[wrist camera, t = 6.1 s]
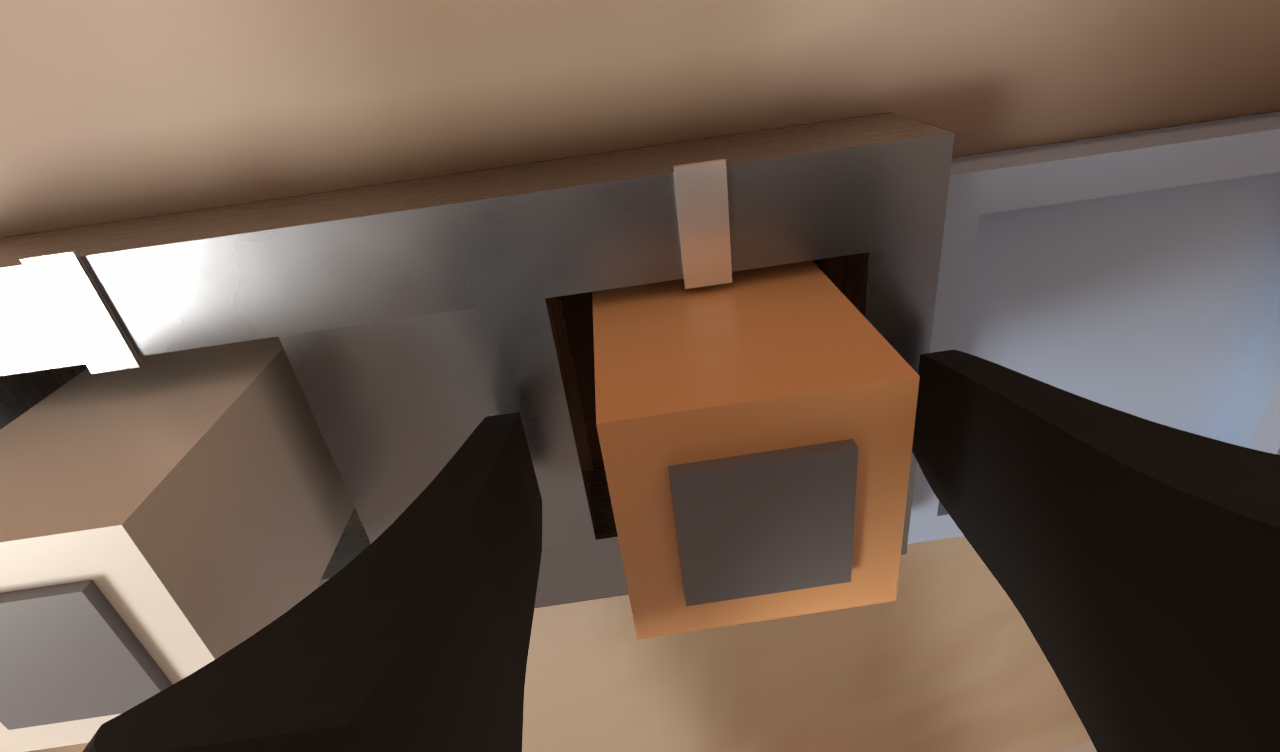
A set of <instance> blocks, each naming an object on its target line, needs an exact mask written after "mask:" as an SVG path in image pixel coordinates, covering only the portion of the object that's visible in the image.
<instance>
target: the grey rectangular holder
mask: <svg viewBox="0 0 1280 752" xmlns="http://www.w3.org/2000/svg"><path fill="white" fill-rule="evenodd" d="M954 138H955V132H952V131H948V130H945V129H942V128H939V127H936V126H932V125H929V124H926V123H923V122H919V121H916V120H913V119H910V118H907V117H903V116H900V115H897V114H894V113H884V114H877V115H870V116H863V117H855V118H848V119H841V120H834V121H827V122H820V123H813V124H806V125H799V126H792V127H785V128H778V129H771V130H764V131H756V132H749V133H742V134H735V135H728V136H721V137H714V138H707V139H700V140H693V141H686V142H679V143H672V144H665V145H658V146H650V147H643V148H636V149H629V150H622V151H615V152H608V153H601V154H594V155H587V156H580V157H573V158H566V159H559V160H551V161H544V162H537V163H530V164H523V165H516V166H509V167H502V168H495V169H488V170H481V171H474V172H467V173H460V174H453V175H445V176H438V177H431V178H424V179H417V180H410V181H403V182H396V183H389V184H382V185H375V186H368V187H361V188H354V189H346V190H339V191H332V192H325V193H318V194H311V195H304V196H297V197H290V198H283V199H276V200H269V201H262V202H255V203H248V204H240V205H233V206H226V207H219V208H212V209H205V210H198V211H191V212H184V213H177V214H170V215H163V216H156V217H149V218H141V219H134V220H127V221H120V222H113V223H106V224H99V225H92V226H85V227H78V228H71V229H64V230H57V231H50V232H43V233H35V234H28V235H21V236H14V237H7V238H0V430H1V429H2V428H3V427H5V426H6V425H8V424H9V423H11V422H12V421H13V420H15V419H16V418H18V417H19V416H20V415H22V414H23V413H25V412H26V411H28V410H29V409H30V408H32V407H33V406H35V405H36V404H37V403H39V402H40V401H42V400H43V399H45V398H46V397H47V396H49V395H50V394H52V393H53V392H54V391H56V390H57V389H59V388H60V387H62V386H63V385H64V384H66V383H67V382H69V381H70V380H71V379H73V378H74V377H76V376H77V375H79V374H80V373H81V372H83V371H84V370H83V368H82V366H81V365H82V364H86V366H87V367H88V369H89V370H90V372H91V374H95V373H102V372H109V371H116V370H123V369H130V368H137V367H140V366H141V365H143V363H142V362H141V360H140V358H139V356H145V355H152V354H159V353H166V352H173V351H180V350H187V349H194V348H201V347H208V346H215V345H222V344H229V343H236V342H243V341H250V340H257V339H264V338H271V337H279V339H280V342H281V344H282V346H283V348H284V350H285V353H286V355H287V357H288V359H289V362H290V364H291V366H292V368H293V371H294V373H295V375H296V377H297V380H298V382H299V384H300V386H301V388H302V391H303V393H304V395H305V397H306V400H307V402H308V404H309V406H310V409H311V411H312V413H313V415H314V418H315V420H316V422H317V424H318V426H319V429H320V431H321V433H322V435H323V438H324V440H325V442H326V444H327V447H328V449H329V451H330V453H331V456H332V458H333V460H334V462H335V464H336V467H337V469H338V471H339V473H340V476H341V478H342V480H343V482H344V485H345V487H346V489H347V491H348V493H349V496H350V498H351V500H352V502H353V505H354V507H355V508H354V510H353V512H352V514H351V516H350V518H349V520H348V523H347V525H346V527H345V529H344V531H343V533H342V535H341V538H340V540H339V542H338V544H337V546H336V548H335V550H334V552H333V555H332V557H331V559H330V561H329V563H328V565H327V567H326V569H325V572H324V574H323V576H322V578H321V580H320V582H319V584H318V587H320V586H321V585H322V584H324V583H325V582H326V581H328V580H329V579H330V578H331V577H333V576H334V575H335V574H337V573H338V572H339V571H340V570H341V569H343V568H344V567H345V566H346V565H347V564H349V563H350V562H351V561H352V560H353V559H354V558H355V557H357V556H358V555H359V554H360V553H361V552H362V551H363V550H365V549H366V548H367V547H368V546H369V545H370V544H371V543H372V542H373V541H375V540H376V539H377V538H378V537H379V536H380V535H381V534H382V533H383V532H384V531H385V530H386V529H387V528H388V527H389V526H390V525H391V524H392V523H393V522H394V521H395V520H396V519H397V518H398V517H399V516H400V515H401V514H402V513H403V512H404V511H405V510H406V509H407V508H408V506H409V505H410V504H411V503H412V502H413V501H414V500H415V499H416V498H417V497H418V496H419V495H420V494H421V493H422V492H423V491H424V490H425V488H426V487H427V486H428V485H429V484H430V483H431V482H432V481H433V480H434V478H435V477H436V476H437V475H438V474H439V472H440V471H441V470H442V469H443V468H444V467H445V465H446V464H447V463H448V462H449V461H450V459H451V458H452V457H453V456H454V455H455V453H456V452H457V451H458V450H459V448H460V447H461V446H462V445H463V444H464V442H465V441H466V440H467V439H468V437H469V436H470V435H471V434H472V432H473V431H474V430H475V429H476V428H477V426H478V425H479V424H480V423H481V422H482V420H483V419H484V418H485V417H488V416H495V415H502V414H508V413H515V412H520V416H521V420H522V423H523V427H524V431H525V435H526V439H527V443H528V447H529V451H530V455H531V459H532V463H533V466H534V470H535V474H536V478H537V482H538V486H539V490H540V494H541V498H542V554H541V562H540V569H539V577H538V584H537V592H536V599H535V606H534V608H539V607H546V606H553V605H560V604H566V603H573V602H580V601H587V600H594V599H601V598H608V597H614V596H621V595H628V594H629V592H628V587H627V582H626V577H625V571H624V566H623V561H622V556H621V551H620V545H619V540H618V535H617V530H616V525H615V519H614V514H613V509H612V504H611V498H610V493H609V488H608V483H607V478H606V472H605V468H602V469H595V470H594V466H593V461H592V456H591V451H590V446H589V441H588V435H587V430H586V425H585V420H584V415H583V410H582V405H581V400H580V395H579V390H578V385H577V380H576V375H575V370H574V365H573V360H572V354H571V349H570V344H569V339H568V334H567V329H566V324H565V319H564V314H563V309H562V304H561V299H560V296H565V295H572V294H580V293H587V292H594V291H601V290H608V289H615V288H622V287H629V286H636V285H643V284H650V283H657V282H664V281H671V280H678V279H684V287H685V289H690V288H697V287H704V286H711V285H718V284H725V283H732V272H734V271H741V270H748V269H755V268H762V267H769V266H776V265H783V264H790V263H797V262H804V261H811V260H818V259H822V272H823V273H824V274H825V275H826V276H827V277H828V278H829V279H830V280H831V281H832V283H833V284H834V285H835V286H836V287H837V288H838V289H839V290H840V291H841V292H842V293H843V294H844V295H845V296H846V298H847V299H848V300H849V301H850V302H851V303H852V304H853V305H854V306H855V307H856V308H857V309H858V310H859V311H860V313H861V314H862V315H863V316H864V317H865V318H866V319H867V320H868V321H869V322H870V323H871V324H872V325H873V326H874V328H875V329H876V330H877V331H878V332H879V333H880V334H881V335H882V336H883V337H884V338H885V339H886V340H887V342H888V343H889V344H890V345H891V346H892V347H893V348H894V349H895V350H896V351H897V352H898V353H899V354H900V355H901V357H902V358H903V359H904V360H905V361H906V362H907V363H908V364H909V365H910V366H911V367H912V368H913V369H914V370H915V372H916V373H917V374H918V370H919V361H920V354H926V353H930V345H931V336H932V327H933V319H934V310H935V301H936V293H937V284H938V276H939V267H940V258H941V250H942V241H943V232H944V224H945V215H946V207H947V198H948V189H949V181H950V172H951V163H952V155H953V146H954ZM916 465H917V460H916V458H915V456H914V454H913V452H912V454H911V463H910V473H909V482H908V492H907V501H906V510H905V520H904V529H903V539H902V548H901V555H903V554H906V552H907V543H908V534H909V526H910V517H911V508H912V500H913V491H914V483H915V474H916ZM318 587H317V588H318Z"/></svg>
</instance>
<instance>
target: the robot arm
mask: <svg viewBox="0 0 1280 752" xmlns="http://www.w3.org/2000/svg"><path fill="white" fill-rule="evenodd" d="M918 375H919V376H920V379H919V388H918V398H917V407H916V416H915V426H914V435H913V445H912V452H913V454H914V456H915V458H916V460H917V462H918V464H919V466H920V468H921V470H922V472H923V474H924V476H925V478H926V480H927V481H928V483H929V485H930V487H931V489H932V491H933V492H934V494H935V495H936V497H937V498H938V500H939V501H940V503H941V504H942V505H943V507H944V508H945V510H946V511H947V512H948V514H949V515H950V517H951V518H952V519H953V521H954V522H955V524H956V525H957V526H958V528H959V529H960V530H961V532H962V533H963V535H964V536H965V537H966V539H967V540H968V541H969V543H970V544H971V545H972V547H973V548H974V549H975V551H976V552H977V554H978V555H979V556H980V558H981V559H982V560H983V562H984V563H985V564H986V566H987V567H988V569H989V570H990V571H991V573H992V574H993V575H994V577H995V578H996V579H997V581H998V582H999V584H1000V585H1001V586H1002V588H1003V589H1004V590H1005V592H1006V593H1007V595H1008V596H1009V598H1010V599H1011V600H1012V602H1013V603H1014V605H1015V606H1016V608H1017V609H1018V611H1019V612H1020V614H1021V615H1022V617H1023V619H1024V620H1025V622H1026V624H1027V625H1028V627H1029V629H1030V631H1031V632H1032V634H1033V636H1034V637H1035V639H1036V641H1037V643H1038V644H1039V646H1040V648H1041V649H1042V651H1043V653H1044V655H1045V656H1046V658H1047V660H1048V661H1049V663H1050V665H1051V667H1052V668H1053V670H1054V672H1055V674H1056V675H1057V677H1058V679H1059V681H1060V683H1061V685H1062V686H1063V688H1064V690H1065V692H1066V694H1067V696H1068V697H1069V699H1070V701H1071V703H1072V705H1073V707H1074V708H1075V710H1076V712H1077V714H1078V716H1079V718H1080V719H1081V721H1082V723H1083V725H1084V727H1085V729H1086V731H1087V733H1088V734H1089V736H1090V738H1091V740H1092V742H1093V744H1094V746H1095V748H1096V750H1097V752H1280V455H1277V454H1272V453H1267V452H1263V451H1259V450H1254V449H1250V448H1246V447H1242V446H1238V445H1234V444H1230V443H1226V442H1222V441H1219V440H1215V439H1212V438H1208V437H1204V436H1201V435H1197V434H1194V433H1190V432H1186V431H1183V430H1179V429H1176V428H1172V427H1169V426H1166V425H1162V424H1159V423H1156V422H1153V421H1149V420H1146V419H1143V418H1140V417H1137V416H1134V415H1132V414H1129V413H1126V412H1123V411H1120V410H1117V409H1114V408H1111V407H1108V406H1105V405H1102V404H1100V403H1097V402H1094V401H1091V400H1089V399H1086V398H1083V397H1080V396H1078V395H1075V394H1073V393H1070V392H1067V391H1065V390H1062V389H1060V388H1057V387H1054V386H1052V385H1049V384H1047V383H1044V382H1042V381H1039V380H1037V379H1034V378H1031V377H1029V376H1026V375H1024V374H1021V373H1019V372H1016V371H1014V370H1011V369H1009V368H1006V367H1004V366H1001V365H999V364H996V363H993V362H991V361H988V360H985V359H983V358H980V357H977V356H974V355H971V354H968V353H965V352H962V351H958V350H947V351H940V352H933V353H926V354H920V361H919V370H918ZM541 554H542V498H541V494H540V490H539V486H538V482H537V478H536V474H535V470H534V466H533V463H532V459H531V455H530V451H529V447H528V443H527V439H526V435H525V431H524V427H523V423H522V420H521V416H520V412H515V413H508V414H502V415H495V416H488V417H485V418H484V419H483V420H482V422H481V423H480V424H479V425H478V426H477V428H476V429H475V430H474V431H473V432H472V434H471V435H470V436H469V437H468V439H467V440H466V441H465V442H464V444H463V445H462V446H461V447H460V448H459V450H458V451H457V452H456V453H455V455H454V456H453V457H452V458H451V459H450V461H449V462H448V463H447V464H446V465H445V467H444V468H443V469H442V470H441V471H440V472H439V474H438V475H437V476H436V477H435V478H434V480H433V481H432V482H431V483H430V484H429V485H428V486H427V487H426V488H425V490H424V491H423V492H422V493H421V494H420V495H419V496H418V497H417V498H416V499H415V500H414V501H413V502H412V503H411V504H410V505H409V506H408V508H407V509H406V510H405V511H404V512H403V513H402V514H401V515H400V516H399V517H398V518H397V519H396V520H395V521H394V522H393V523H392V524H391V525H390V526H389V527H388V528H387V529H386V530H385V531H384V532H383V533H382V534H381V535H380V536H379V537H378V538H377V539H376V540H375V541H373V542H372V543H371V544H370V545H369V546H368V547H367V548H366V549H365V550H363V551H362V552H361V553H360V554H359V555H358V556H357V557H355V558H354V559H353V560H352V561H351V562H350V563H349V564H347V565H346V566H345V567H344V568H343V569H341V570H340V571H339V572H338V573H337V574H335V575H334V576H333V577H331V578H330V579H329V580H328V581H326V582H325V583H324V584H322V585H321V586H320V587H318V588H317V589H316V590H314V591H313V592H312V593H311V594H309V595H308V596H307V597H305V598H304V599H303V600H301V601H300V602H299V603H297V604H296V605H295V606H294V607H292V608H291V609H290V610H288V611H287V612H286V613H284V614H283V615H281V616H280V617H279V618H277V619H276V620H274V621H273V622H271V623H270V624H268V625H267V626H265V627H264V628H263V629H261V630H260V631H258V632H257V633H255V634H254V635H252V636H251V637H249V638H248V639H246V640H245V641H243V642H242V643H240V644H239V645H237V646H235V647H234V648H232V649H231V650H229V651H228V652H226V653H225V654H223V655H221V656H220V657H218V658H217V659H215V660H214V661H212V662H210V663H209V664H207V665H205V666H204V667H202V668H200V669H199V670H197V671H196V672H194V673H192V674H191V675H189V676H187V677H185V678H184V679H182V680H180V681H178V682H177V683H175V684H173V685H171V686H170V687H168V688H166V689H164V690H163V691H161V692H159V693H157V694H156V695H154V696H152V697H150V698H148V699H147V700H145V701H143V702H141V703H140V704H138V705H136V706H134V707H133V708H131V709H129V710H127V711H126V712H124V713H122V714H120V715H118V716H117V717H115V718H113V719H111V720H109V721H107V722H105V723H104V724H102V725H101V726H100V727H99V729H98V730H97V732H96V733H95V735H94V736H93V737H92V739H91V740H90V742H89V743H88V745H87V746H86V748H85V749H84V751H83V752H522V728H523V701H524V684H525V673H526V663H527V656H528V649H529V642H530V635H531V627H532V620H533V613H534V606H535V599H536V592H537V584H538V577H539V569H540V562H541Z"/></svg>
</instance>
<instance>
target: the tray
mask: <svg viewBox="0 0 1280 752" xmlns="http://www.w3.org/2000/svg"><path fill="white" fill-rule="evenodd" d="M947 350H958V351H962V352H965V353H968V354H971V355H974V356H977V357H980V358H983V359H985V360H988V361H991V362H993V363H996V364H999V365H1001V366H1004V367H1006V368H1009V369H1011V370H1014V371H1016V372H1019V373H1021V374H1024V375H1026V376H1029V377H1031V378H1034V379H1037V380H1039V381H1042V382H1044V383H1047V384H1049V385H1052V386H1054V387H1057V388H1060V389H1062V390H1065V391H1067V392H1070V393H1073V394H1075V395H1078V396H1080V397H1083V398H1086V399H1089V400H1091V401H1094V402H1097V403H1100V404H1102V405H1105V406H1108V407H1111V408H1114V409H1117V410H1120V411H1123V412H1126V413H1129V414H1132V415H1134V416H1137V417H1140V418H1143V419H1146V420H1149V421H1153V422H1156V423H1159V424H1162V425H1166V426H1169V427H1172V428H1176V429H1179V430H1183V431H1186V432H1190V433H1194V434H1197V435H1201V436H1204V437H1208V438H1212V439H1215V440H1219V441H1222V442H1226V443H1230V444H1234V445H1238V446H1242V447H1246V448H1250V449H1254V450H1259V451H1263V452H1267V453H1272V454H1277V452H1278V450H1279V448H1280V111H1279V112H1271V113H1264V114H1257V115H1250V116H1243V117H1236V118H1229V119H1222V120H1215V121H1208V122H1201V123H1194V124H1187V125H1180V126H1173V127H1166V128H1159V129H1152V130H1145V131H1138V132H1131V133H1124V134H1117V135H1109V136H1102V137H1095V138H1088V139H1081V140H1074V141H1067V142H1060V143H1053V144H1046V145H1039V146H1032V147H1025V148H1018V149H1011V150H1004V151H997V152H990V153H983V154H976V155H969V156H962V157H955V158H952V163H951V172H950V181H949V189H948V198H947V207H946V215H945V224H944V232H943V241H942V250H941V258H940V267H939V276H938V284H937V293H936V301H935V310H934V319H933V327H932V336H931V345H930V353H933V352H940V351H947ZM961 536H964V535H963V533H962V532H961V530H960V529H959V528H958V526H957V525H956V524H955V522H954V521H953V519H952V518H951V517H950V515H949V514H948V512H947V511H946V510H945V508H944V507H943V505H942V504H941V503H940V501H939V500H938V498H937V497H936V495H935V494H934V492H933V491H932V489H931V487H930V485H929V483H928V481H927V480H926V478H925V476H924V474H923V472H922V470H921V468H920V466H919V464H918V462H917V465H916V474H915V483H914V491H913V500H912V508H911V517H910V526H909V534H908V543H907V544H912V543H919V542H926V541H933V540H940V539H947V538H954V537H961Z"/></svg>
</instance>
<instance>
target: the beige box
mask: <svg viewBox="0 0 1280 752" xmlns="http://www.w3.org/2000/svg"><path fill="white" fill-rule="evenodd" d="M139 358H140V360H141V362H142V363H143V365H141V366H140V367H137V368H130V369H123V370H116V371H109V372H102V373H95V374H91V372H90V370H89V369H88V368H87V369H86V370H84V371H83V372H81V373H80V374H79V375H77V376H76V377H74V378H73V379H71V380H70V381H69V382H67V383H66V384H64V385H63V386H62V387H60V388H59V389H57V390H56V391H54V392H53V393H52V394H50V395H49V396H47V397H46V398H45V399H43V400H42V401H40V402H39V403H37V404H36V405H35V406H33V407H32V408H30V409H29V410H28V411H26V412H25V413H23V414H22V415H20V416H19V417H18V418H16V419H15V420H13V421H12V422H11V423H9V424H8V425H6V426H5V427H3V428H2V429H1V430H0V752H26V751H33V750H40V749H47V748H54V747H61V746H67V745H74V744H81V743H88V742H90V740H91V739H92V737H93V736H94V735H95V733H96V732H97V730H98V729H99V727H100V726H101V725H102V724H104V723H105V722H107V721H109V720H111V719H113V718H115V717H117V716H118V715H120V714H122V713H124V712H126V711H127V710H129V709H131V708H133V707H134V706H136V705H138V704H140V703H141V702H143V701H145V700H147V699H148V698H150V697H152V696H154V695H156V694H157V693H159V692H161V691H163V690H164V689H166V688H168V687H170V686H171V685H173V684H175V683H177V682H178V681H180V680H182V679H184V678H185V677H187V676H189V675H191V674H192V673H194V672H196V671H197V670H199V669H200V668H202V667H204V666H205V665H207V664H209V663H210V662H212V661H214V660H215V659H217V658H218V657H220V656H221V655H223V654H225V653H226V652H228V651H229V650H231V649H232V648H234V647H235V646H237V645H239V644H240V643H242V642H243V641H245V640H246V639H248V638H249V637H251V636H252V635H254V634H255V633H257V632H258V631H260V630H261V629H263V628H264V627H265V626H267V625H268V624H270V623H271V622H273V621H274V620H276V619H277V618H279V617H280V616H281V615H283V614H284V613H286V612H287V611H288V610H290V609H291V608H292V607H294V606H295V605H296V604H297V603H299V602H300V601H301V600H303V599H304V598H305V597H307V596H308V595H309V594H311V593H312V592H313V591H314V590H316V589H317V587H318V584H319V582H320V580H321V578H322V576H323V574H324V572H325V569H326V567H327V565H328V563H329V561H330V559H331V557H332V555H333V552H334V550H335V548H336V546H337V544H338V542H339V540H340V538H341V535H342V533H343V531H344V529H345V527H346V525H347V523H348V520H349V518H350V516H351V514H352V512H353V510H354V508H355V507H354V505H353V502H352V500H351V498H350V496H349V493H348V491H347V489H346V487H345V485H344V482H343V480H342V478H341V476H340V473H339V471H338V469H337V467H336V464H335V462H334V460H333V458H332V456H331V453H330V451H329V449H328V447H327V444H326V442H325V440H324V438H323V435H322V433H321V431H320V429H319V426H318V424H317V422H316V420H315V418H314V415H313V413H312V411H311V409H310V406H309V404H308V402H307V400H306V397H305V395H304V393H303V391H302V388H301V386H300V384H299V382H298V380H297V377H296V375H295V373H294V371H293V368H292V366H291V364H290V362H289V359H288V357H287V355H286V353H285V350H284V348H283V346H282V344H281V342H280V339H279V337H271V338H264V339H257V340H250V341H243V342H236V343H229V344H222V345H215V346H208V347H201V348H194V349H187V350H180V351H173V352H166V353H159V354H152V355H145V356H139Z"/></svg>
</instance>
